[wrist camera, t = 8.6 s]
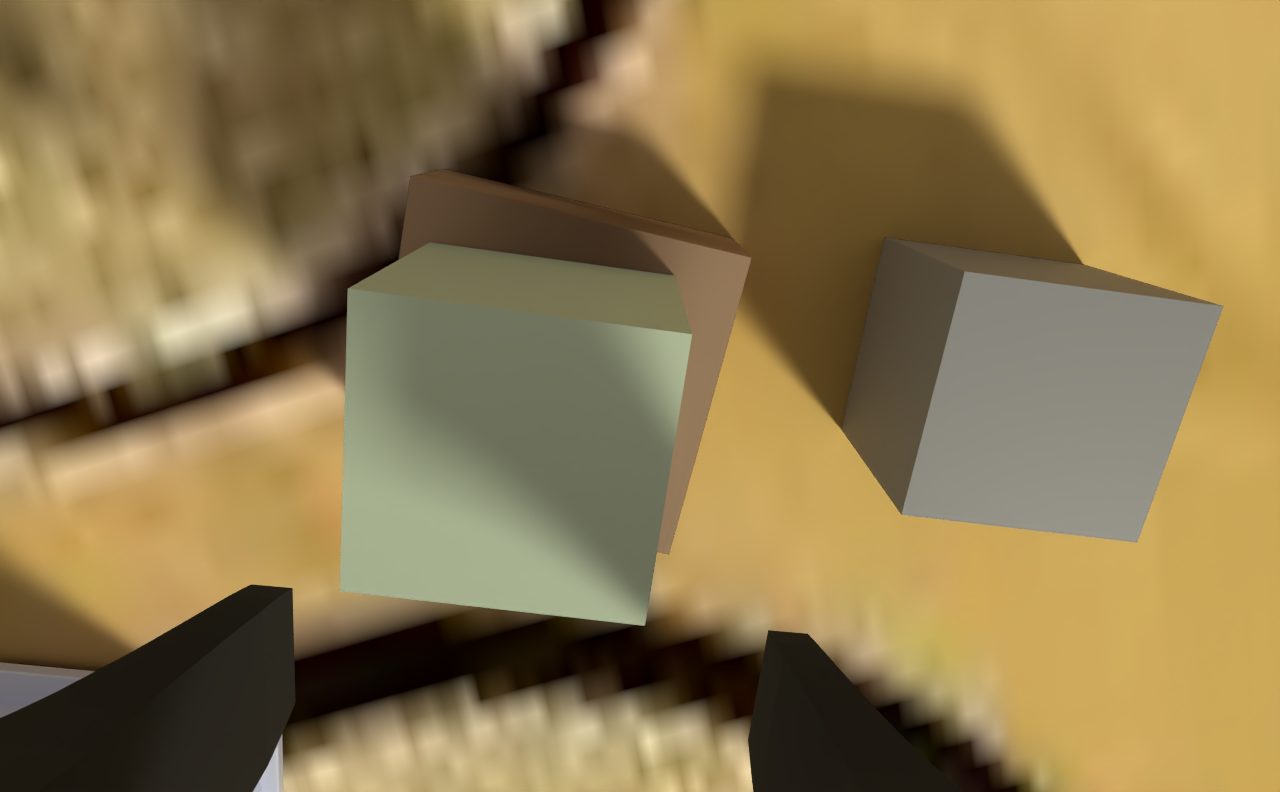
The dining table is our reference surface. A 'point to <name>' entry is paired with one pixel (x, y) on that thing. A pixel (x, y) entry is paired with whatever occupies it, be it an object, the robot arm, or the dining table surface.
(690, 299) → the walnut block
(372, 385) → the sage cube
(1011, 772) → the dining table surface
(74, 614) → the dining table surface
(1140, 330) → the grey cube
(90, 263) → the dining table surface
